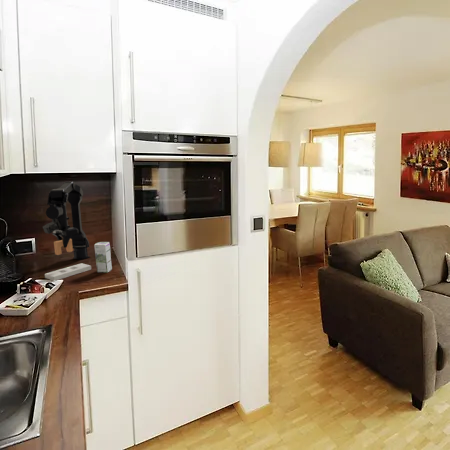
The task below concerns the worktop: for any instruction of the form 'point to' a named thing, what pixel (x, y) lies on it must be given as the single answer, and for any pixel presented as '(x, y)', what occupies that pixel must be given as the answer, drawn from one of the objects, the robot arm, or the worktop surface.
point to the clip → (60, 244)
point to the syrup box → (103, 256)
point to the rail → (67, 271)
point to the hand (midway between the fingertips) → (63, 247)
